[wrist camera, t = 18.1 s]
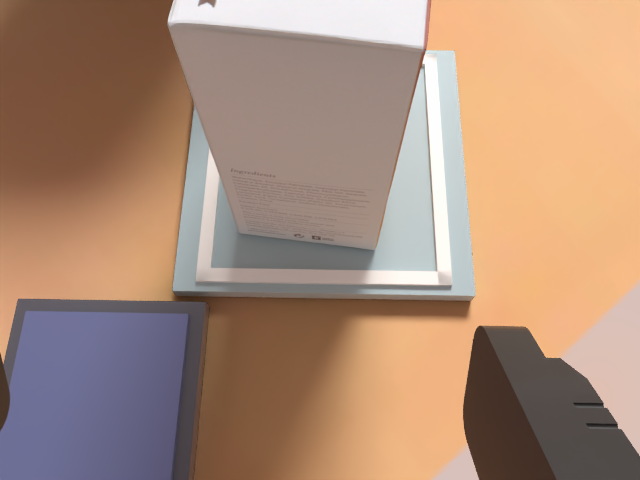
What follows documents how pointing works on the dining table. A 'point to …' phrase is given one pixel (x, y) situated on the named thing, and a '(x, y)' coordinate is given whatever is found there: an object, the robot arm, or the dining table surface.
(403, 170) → the board
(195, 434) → the ink pad
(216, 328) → the dining table surface
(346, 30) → the small box
